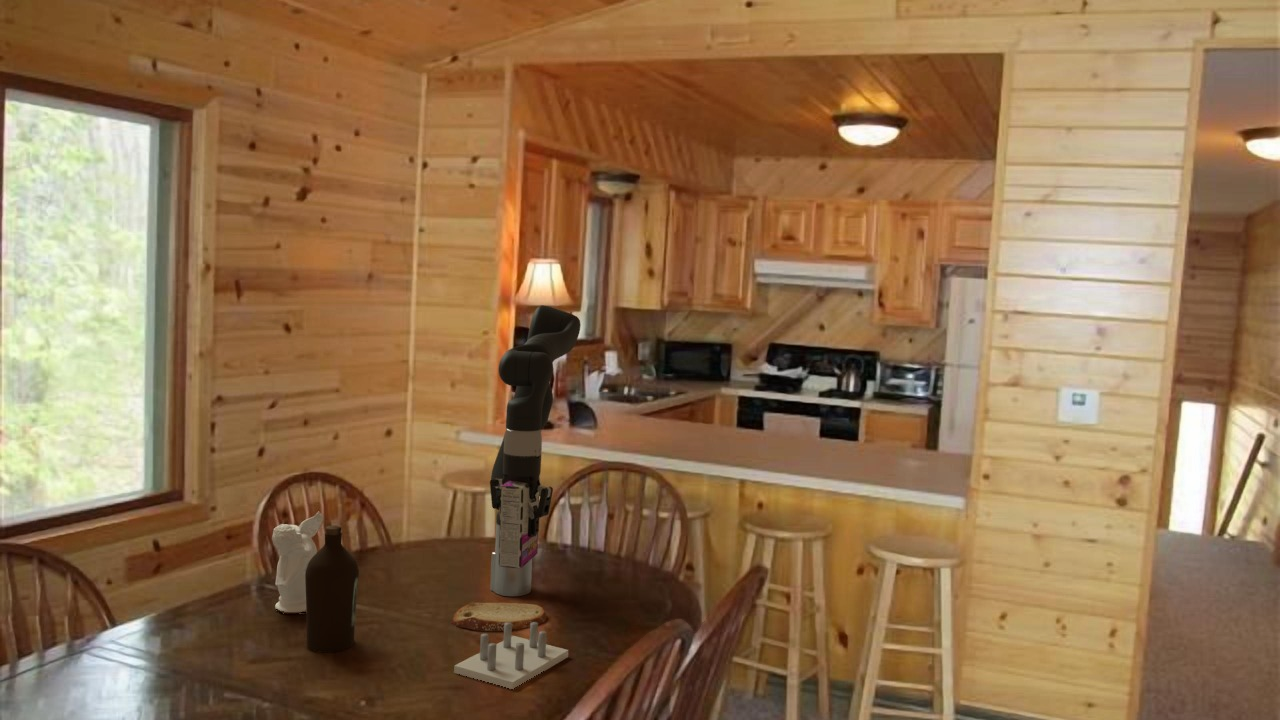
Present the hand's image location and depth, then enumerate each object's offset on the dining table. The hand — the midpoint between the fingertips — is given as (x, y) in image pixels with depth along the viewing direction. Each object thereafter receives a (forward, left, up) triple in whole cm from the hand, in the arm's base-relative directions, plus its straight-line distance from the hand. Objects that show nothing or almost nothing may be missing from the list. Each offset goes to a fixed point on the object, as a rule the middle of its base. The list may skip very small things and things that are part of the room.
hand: (519, 533), depth 200 cm
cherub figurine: (-61, -1, -27) cm, 67 cm away
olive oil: (-37, -13, -27) cm, 48 cm away
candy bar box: (0, 0, -6) cm, 6 cm away
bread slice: (-17, +19, -28) cm, 38 cm away
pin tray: (0, 0, -27) cm, 27 cm away
